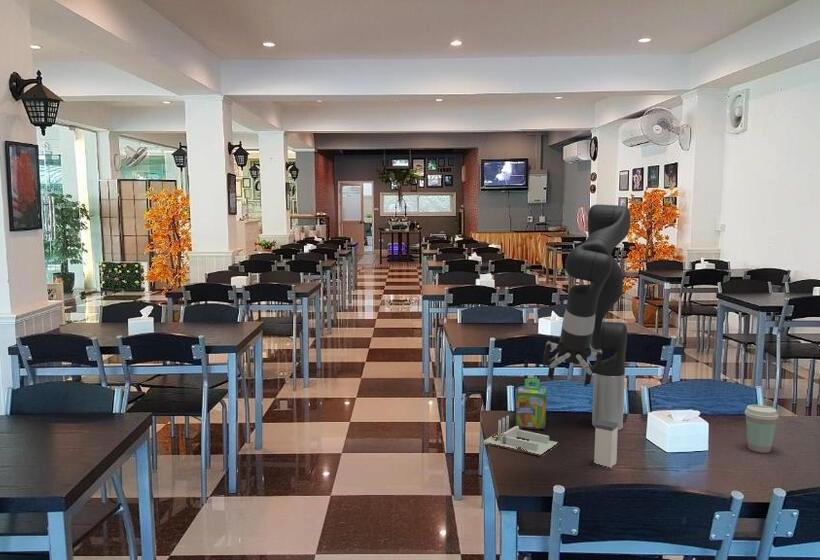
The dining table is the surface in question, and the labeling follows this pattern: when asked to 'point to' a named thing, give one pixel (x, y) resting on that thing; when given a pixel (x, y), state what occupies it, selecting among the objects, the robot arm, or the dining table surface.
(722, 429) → the dining table surface
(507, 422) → the header socket
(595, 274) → the robot arm
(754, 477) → the dining table surface
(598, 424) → the block
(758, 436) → the coffee cup
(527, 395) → the chalk box
